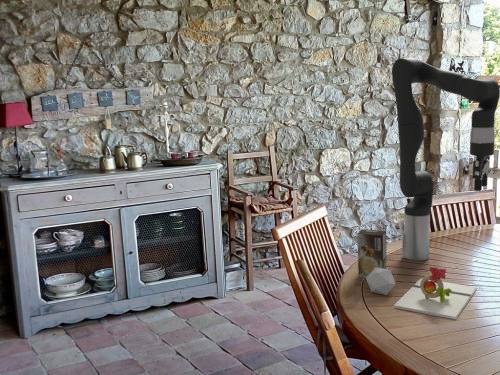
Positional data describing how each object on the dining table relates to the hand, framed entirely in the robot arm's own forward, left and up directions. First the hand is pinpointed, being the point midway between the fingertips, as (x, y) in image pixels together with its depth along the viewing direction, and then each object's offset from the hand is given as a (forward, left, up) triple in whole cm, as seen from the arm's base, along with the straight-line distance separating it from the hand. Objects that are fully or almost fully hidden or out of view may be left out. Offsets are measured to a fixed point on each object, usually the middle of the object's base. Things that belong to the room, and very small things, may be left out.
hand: (480, 188), depth 187 cm
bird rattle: (-6, -32, -30) cm, 44 cm away
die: (-23, -32, -30) cm, 50 cm away
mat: (-6, -29, -30) cm, 42 cm away
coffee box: (-31, -19, -30) cm, 47 cm away
